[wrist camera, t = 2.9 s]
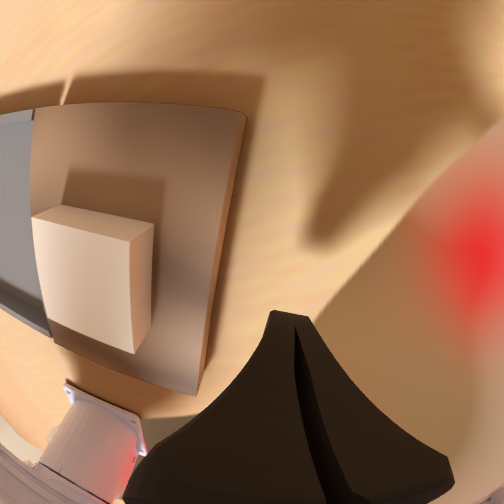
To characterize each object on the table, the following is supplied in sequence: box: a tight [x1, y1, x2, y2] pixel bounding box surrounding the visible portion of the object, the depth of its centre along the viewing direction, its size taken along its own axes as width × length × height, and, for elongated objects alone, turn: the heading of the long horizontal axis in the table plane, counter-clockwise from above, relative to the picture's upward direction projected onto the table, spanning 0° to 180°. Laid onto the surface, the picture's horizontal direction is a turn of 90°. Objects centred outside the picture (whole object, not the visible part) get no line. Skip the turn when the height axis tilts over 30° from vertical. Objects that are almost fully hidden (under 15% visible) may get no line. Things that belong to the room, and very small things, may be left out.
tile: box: [31, 205, 154, 354], centre depth 10 cm, size 5×5×2 cm
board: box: [30, 102, 247, 396], centre depth 12 cm, size 14×10×2 cm
